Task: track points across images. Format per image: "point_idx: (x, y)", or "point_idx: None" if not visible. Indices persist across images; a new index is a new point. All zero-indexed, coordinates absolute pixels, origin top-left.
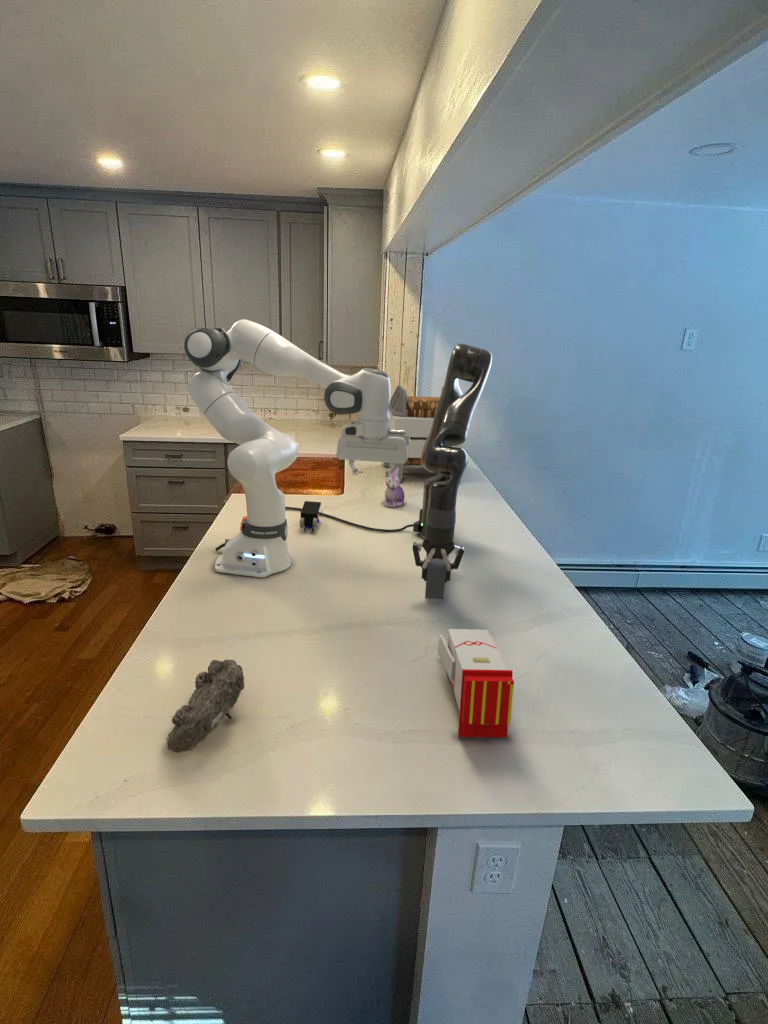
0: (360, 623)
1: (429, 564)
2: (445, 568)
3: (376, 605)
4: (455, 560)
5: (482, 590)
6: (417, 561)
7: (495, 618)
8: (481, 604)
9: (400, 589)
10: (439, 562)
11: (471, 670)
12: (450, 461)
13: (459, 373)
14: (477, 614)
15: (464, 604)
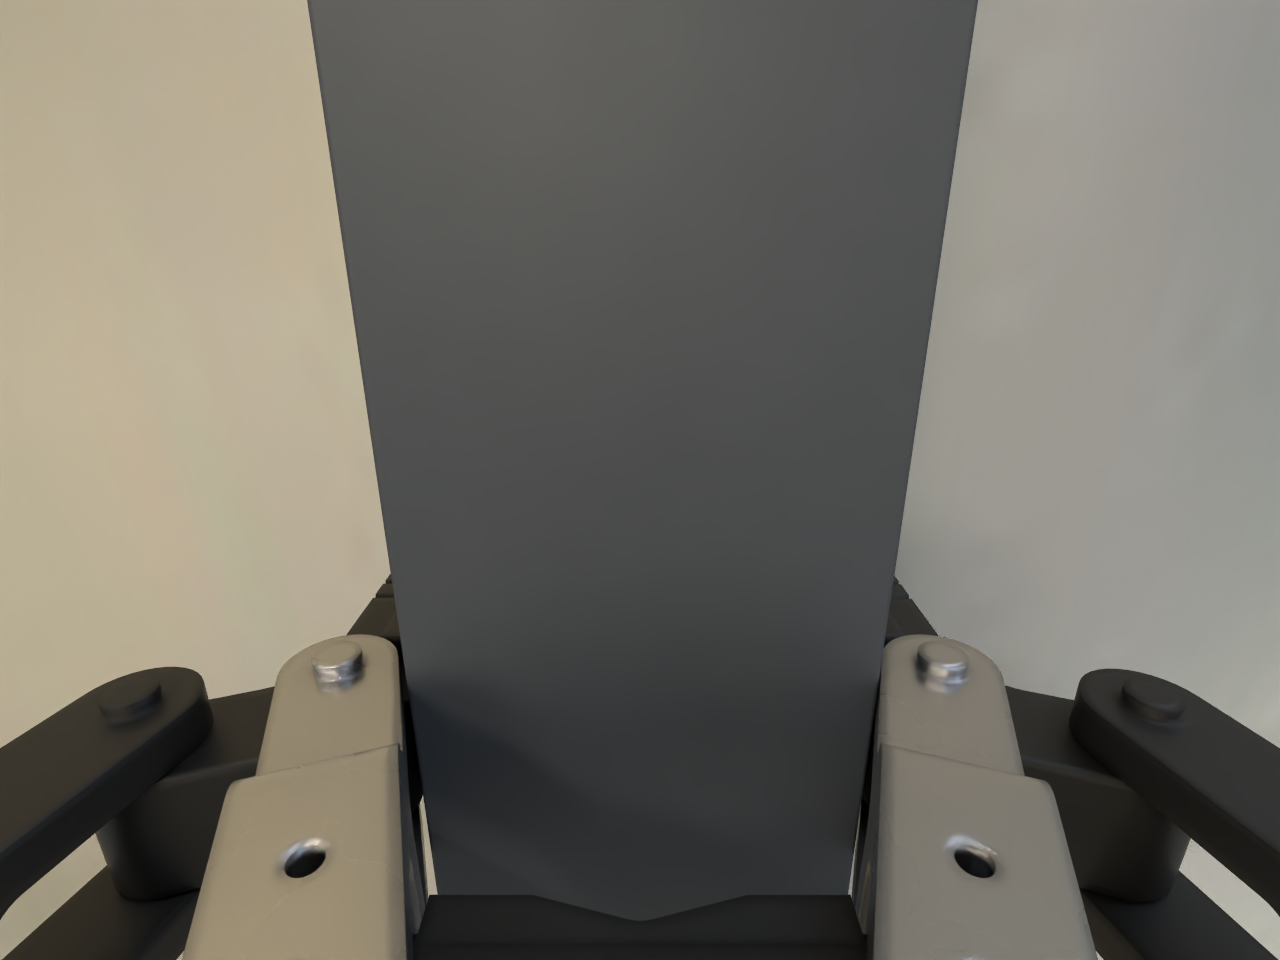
0: (103, 867)
1: (462, 775)
2: (833, 888)
3: (114, 613)
4: (1201, 830)
5: (1275, 55)
6: (124, 947)
7: (1192, 656)
8: (1142, 428)
9: (239, 234)
10: (708, 642)
11: None
12: None
13: None
14: (1044, 618)
15: (957, 458)
